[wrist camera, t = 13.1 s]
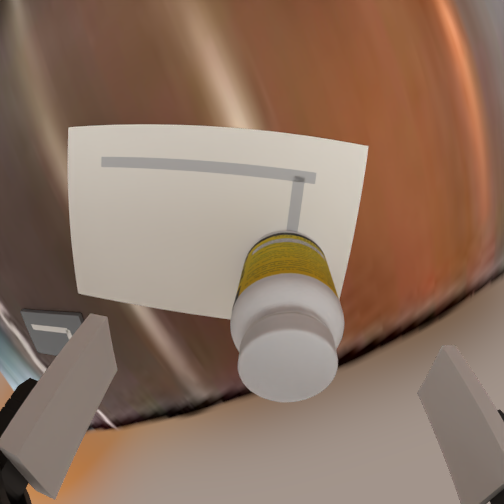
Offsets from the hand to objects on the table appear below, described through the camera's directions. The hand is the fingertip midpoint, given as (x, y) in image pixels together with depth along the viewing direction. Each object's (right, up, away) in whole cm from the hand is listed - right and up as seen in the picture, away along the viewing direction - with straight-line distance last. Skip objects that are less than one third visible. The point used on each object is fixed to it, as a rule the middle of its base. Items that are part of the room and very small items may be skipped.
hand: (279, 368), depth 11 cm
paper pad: (-4, +6, +10) cm, 12 cm away
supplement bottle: (+1, +3, +10) cm, 10 cm away
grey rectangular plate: (-20, -4, +14) cm, 25 cm away
